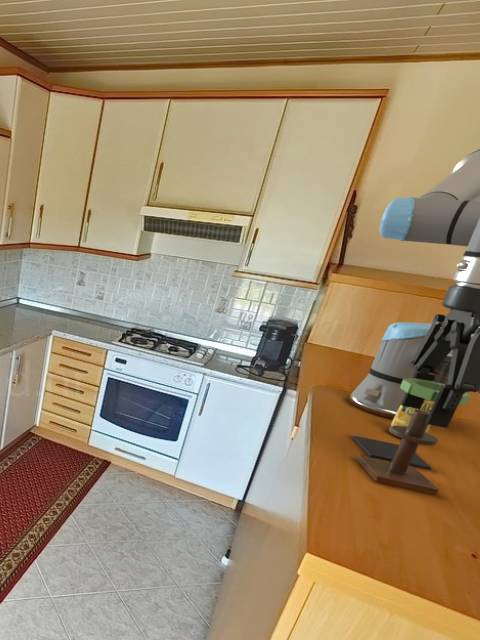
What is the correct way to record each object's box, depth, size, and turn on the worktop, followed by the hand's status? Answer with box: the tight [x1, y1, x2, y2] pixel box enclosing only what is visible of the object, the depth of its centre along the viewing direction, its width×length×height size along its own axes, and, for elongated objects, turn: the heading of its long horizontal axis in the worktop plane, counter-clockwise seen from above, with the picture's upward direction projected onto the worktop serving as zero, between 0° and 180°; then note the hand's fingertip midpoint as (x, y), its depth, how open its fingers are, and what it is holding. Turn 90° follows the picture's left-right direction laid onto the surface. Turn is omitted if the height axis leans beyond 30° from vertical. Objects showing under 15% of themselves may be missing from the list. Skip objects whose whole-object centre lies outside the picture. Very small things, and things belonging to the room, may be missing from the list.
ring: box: [400, 378, 472, 406], centre depth 84 cm, size 8×8×2 cm
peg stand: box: [356, 410, 440, 496], centre depth 88 cm, size 9×9×13 cm
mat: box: [352, 435, 432, 471], centre depth 101 cm, size 10×10×1 cm
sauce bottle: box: [388, 354, 452, 439], centre depth 107 cm, size 7×6×20 cm
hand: (422, 415), depth 86 cm, fingers closed on ring, 8 cm apart
